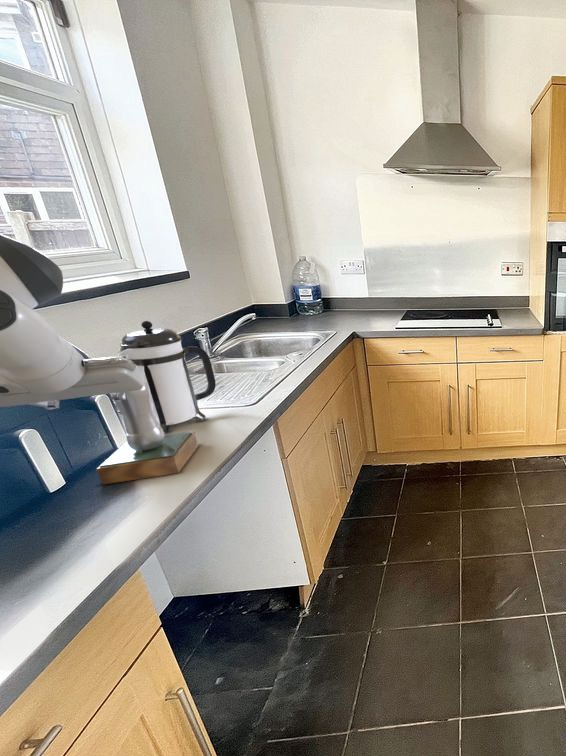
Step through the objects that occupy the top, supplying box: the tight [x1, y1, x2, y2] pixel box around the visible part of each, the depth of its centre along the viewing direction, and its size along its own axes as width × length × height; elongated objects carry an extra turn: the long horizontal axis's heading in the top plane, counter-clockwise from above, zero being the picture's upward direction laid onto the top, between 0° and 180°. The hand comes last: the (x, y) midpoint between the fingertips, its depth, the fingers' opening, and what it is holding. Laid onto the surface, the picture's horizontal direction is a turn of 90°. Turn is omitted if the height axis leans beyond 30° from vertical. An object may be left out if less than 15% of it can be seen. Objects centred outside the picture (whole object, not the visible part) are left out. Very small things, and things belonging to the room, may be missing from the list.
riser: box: [95, 431, 199, 485], centre depth 98 cm, size 14×14×4 cm
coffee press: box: [117, 320, 217, 434], centre depth 117 cm, size 17×16×30 cm
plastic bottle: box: [109, 382, 166, 451], centre depth 94 cm, size 6×7×20 cm
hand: (88, 401), depth 79 cm, fingers open, 8 cm apart
